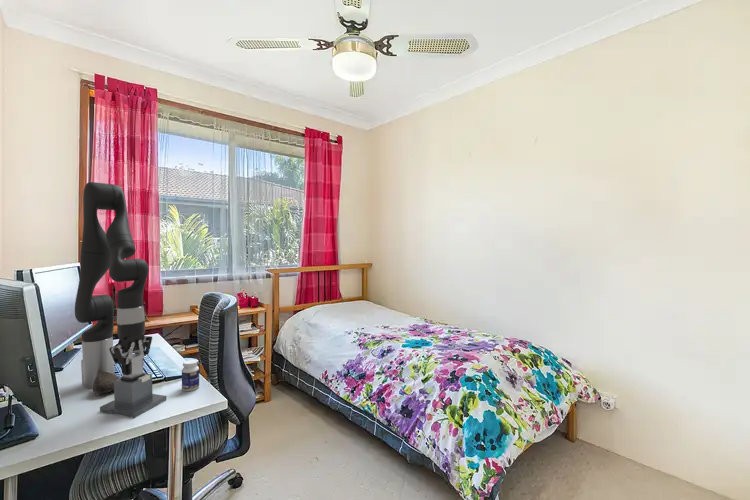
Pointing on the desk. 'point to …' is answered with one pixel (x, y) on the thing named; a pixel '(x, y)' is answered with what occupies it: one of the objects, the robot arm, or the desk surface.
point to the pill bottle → (190, 375)
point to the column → (134, 368)
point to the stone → (104, 383)
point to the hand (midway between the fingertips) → (132, 371)
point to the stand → (133, 397)
